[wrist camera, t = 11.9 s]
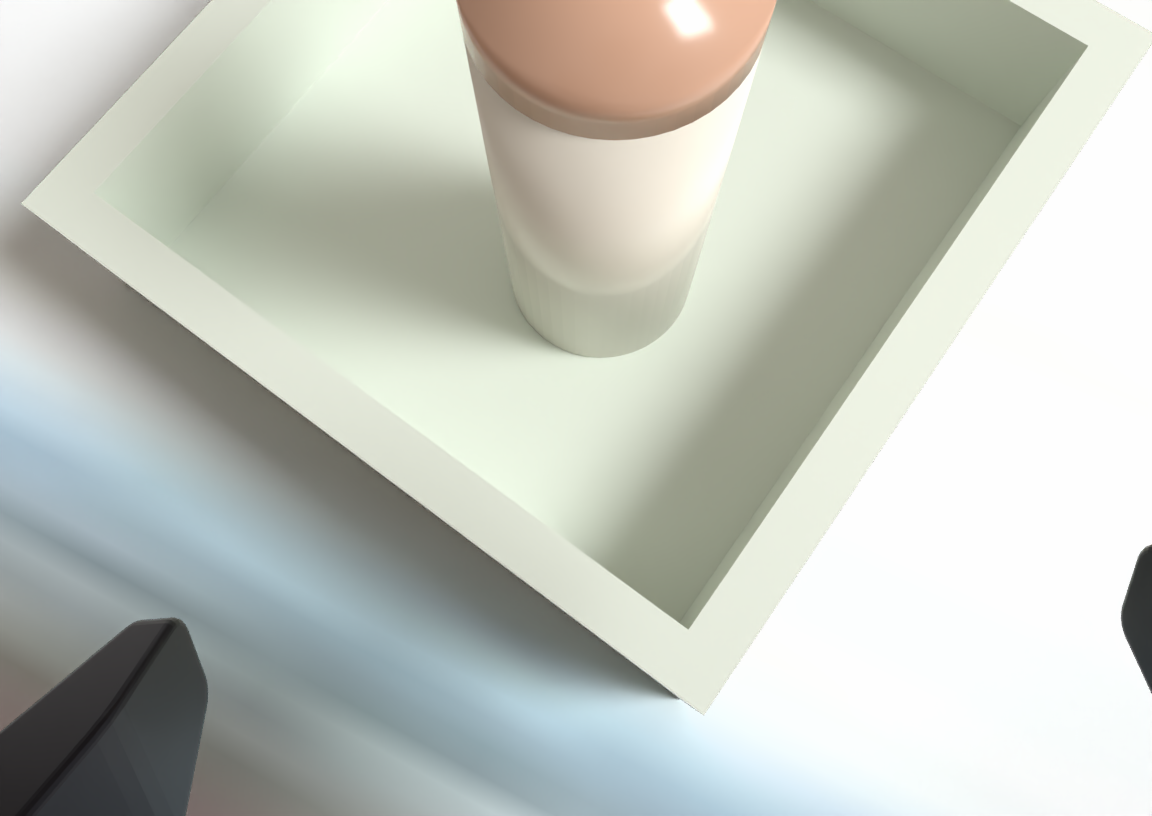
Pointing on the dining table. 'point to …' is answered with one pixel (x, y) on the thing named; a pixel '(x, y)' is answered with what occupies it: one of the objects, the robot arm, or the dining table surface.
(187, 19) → the dining table surface
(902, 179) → the bin
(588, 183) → the jar
